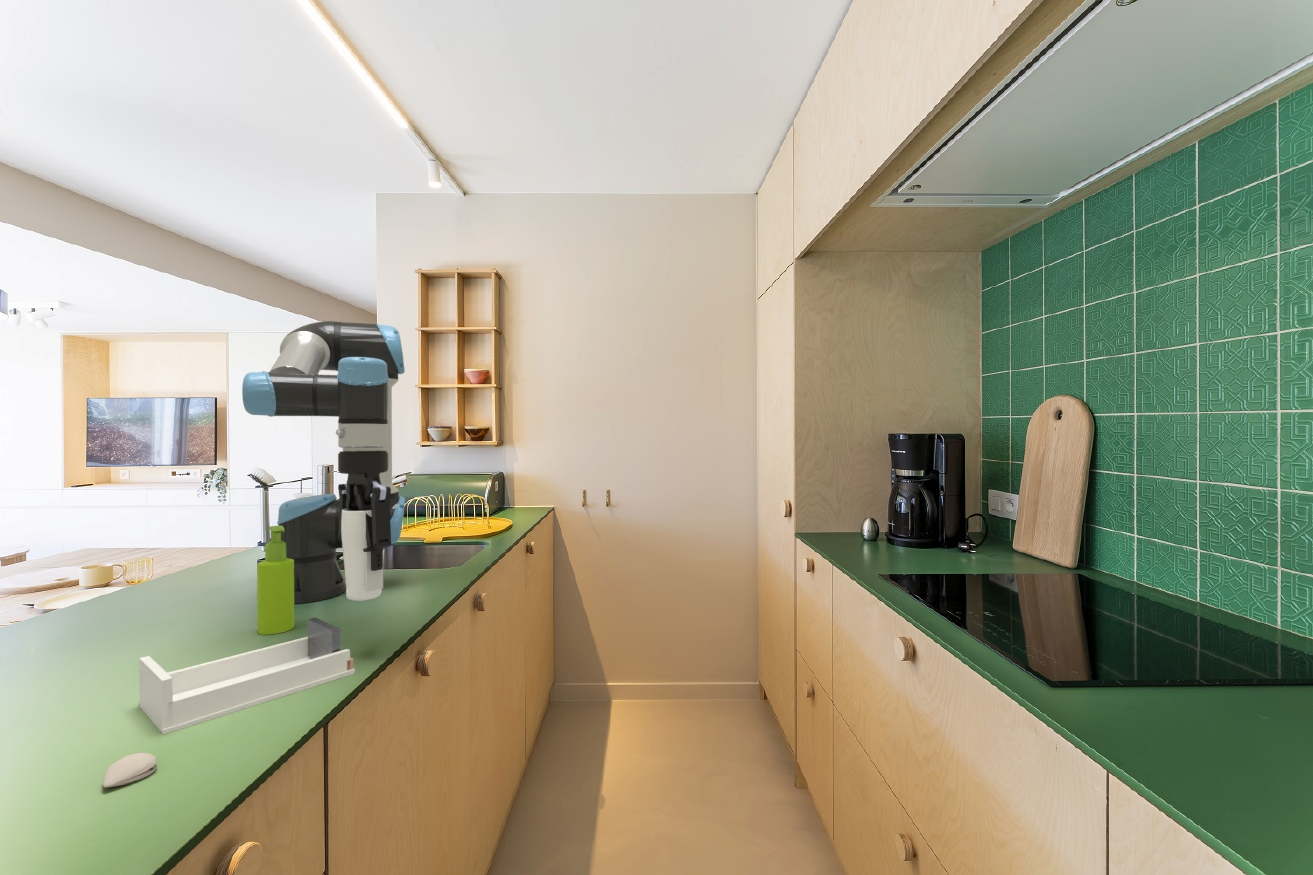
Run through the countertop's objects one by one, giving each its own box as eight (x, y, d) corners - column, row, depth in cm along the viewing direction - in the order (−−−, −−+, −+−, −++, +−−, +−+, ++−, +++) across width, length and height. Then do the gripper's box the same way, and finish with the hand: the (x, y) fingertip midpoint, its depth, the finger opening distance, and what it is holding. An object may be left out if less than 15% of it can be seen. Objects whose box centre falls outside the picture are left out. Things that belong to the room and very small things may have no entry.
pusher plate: (315, 653, 94) (315, 617, 94) (340, 666, 89) (340, 628, 89) (307, 655, 93) (307, 619, 93) (332, 669, 88) (332, 630, 88)
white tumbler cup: (335, 597, 96) (335, 508, 96) (378, 589, 101) (378, 505, 101) (348, 605, 91) (348, 512, 91) (392, 597, 96) (392, 508, 96)
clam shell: (166, 769, 63) (166, 747, 63) (126, 798, 58) (126, 774, 58) (127, 770, 63) (126, 748, 63) (83, 799, 58) (83, 774, 58)
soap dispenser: (260, 638, 104) (259, 530, 104) (255, 628, 109) (255, 525, 109) (297, 631, 108) (297, 526, 108) (291, 622, 113) (290, 522, 113)
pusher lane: (319, 654, 96) (319, 614, 96) (355, 674, 88) (354, 630, 88) (138, 706, 78) (138, 657, 78) (163, 736, 70) (163, 681, 70)
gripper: (315, 449, 99) (315, 582, 99) (368, 450, 87) (369, 600, 87) (359, 448, 105) (359, 574, 105) (414, 449, 93) (415, 590, 93)
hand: (364, 585), depth 96 cm, fingers closed on white tumbler cup, 6 cm apart
